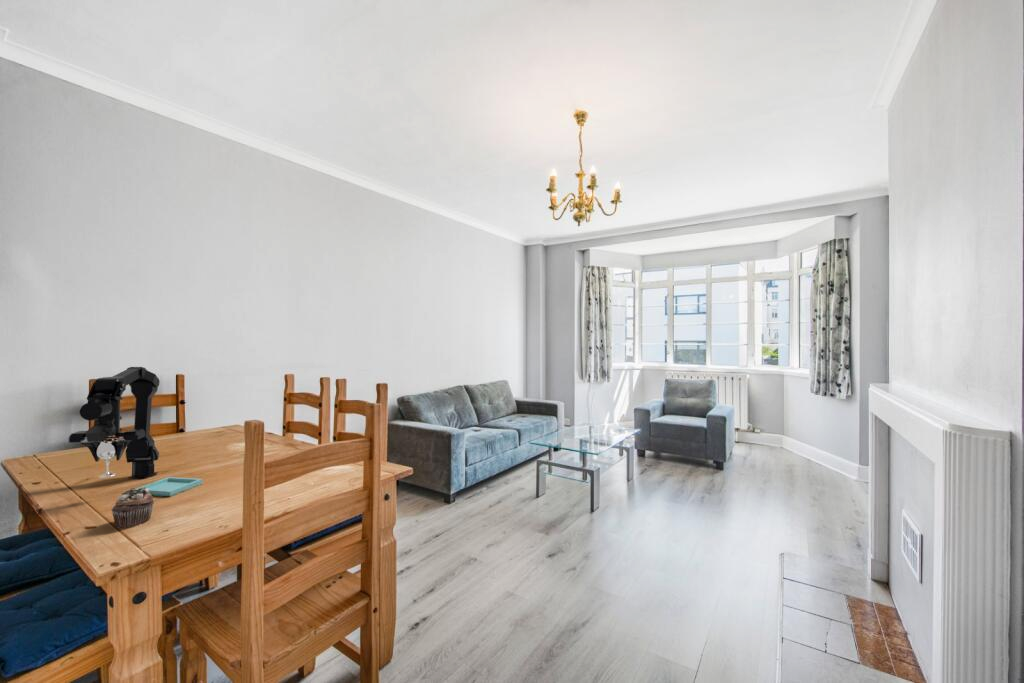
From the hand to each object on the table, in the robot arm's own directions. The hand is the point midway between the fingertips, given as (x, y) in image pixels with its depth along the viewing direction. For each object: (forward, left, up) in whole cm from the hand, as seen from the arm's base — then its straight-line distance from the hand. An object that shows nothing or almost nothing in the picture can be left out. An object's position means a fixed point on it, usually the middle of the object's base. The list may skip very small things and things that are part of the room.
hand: (107, 460), depth 149 cm
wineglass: (0, 0, -5) cm, 5 cm away
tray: (+12, +12, -13) cm, 21 cm away
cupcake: (+26, -15, -13) cm, 33 cm away
